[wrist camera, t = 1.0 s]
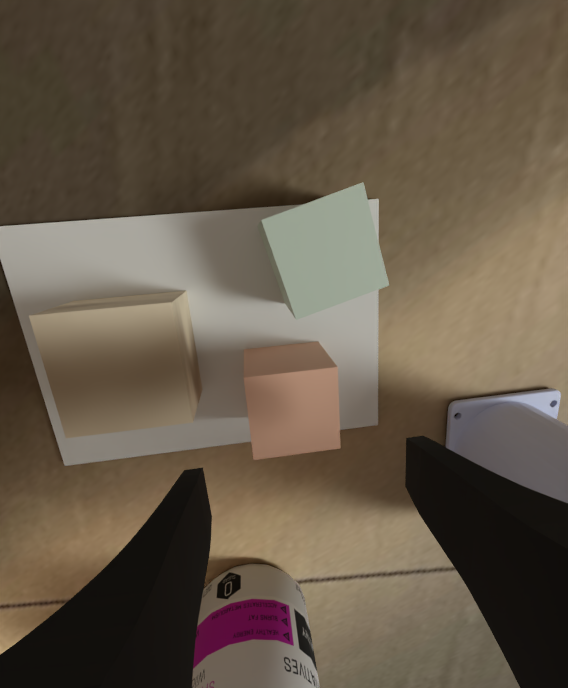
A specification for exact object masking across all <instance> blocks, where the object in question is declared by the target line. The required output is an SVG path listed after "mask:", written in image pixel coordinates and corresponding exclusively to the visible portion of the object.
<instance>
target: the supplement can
mask: <svg viewBox="0 0 568 688" xmlns="http://www.w3.org/2000/svg"><path fill="white" fill-rule="evenodd" d="M192 688H320V686H319V680H318V674H317V668H316V662H315V657H314V651H313V645H312V639H311V633H310V627H309V621H308V615H307V610H306V604H305V598H304V595H303V593H302V590H301V588H300V585H299V584H298V583H297V582H296V581H295V580H294V579H293V578H292V577H291V576H290V575H288V574H287V573H285V572H283V571H282V570H280V569H277V568H275V567H272V566H269V565H265V564H247V565H242V566H237V567H234V568H232V569H230V570H228V571H226V572H224V573H222V574H220V575H219V576H218V577H217V578H215V579H214V580H213V581H212V582H211V583H209V584H208V585H207V586H206V587H205V588H204V589H203V594H202V600H201V606H200V612H199V618H198V625H197V633H196V640H195V652H194V665H193V677H192Z"/></svg>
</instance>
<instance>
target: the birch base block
mask: <svg viewBox="0 0 568 688" xmlns="http://www.w3.org/2000/svg"><path fill="white" fill-rule="evenodd" d="M29 318H30V321H31V325H32V328H33V331H34V335H35V338H36V341H37V345H38V348H39V351H40V355H41V358H42V361H43V364H44V368H45V371H46V374H47V378H48V381H49V384H50V388H51V391H52V394H53V398H54V401H55V404H56V408H57V411H58V414H59V417H60V421H61V424H62V427H63V431H64V434H65V437H66V438H73V437H81V436H89V435H97V434H105V433H113V432H122V431H130V430H138V429H146V428H154V427H162V426H170V425H178V424H186V423H193V421H194V417H195V414H196V410H197V407H198V403H199V400H200V397H201V393H202V390H203V389H202V383H201V377H200V371H199V365H198V358H197V352H196V346H195V340H194V334H193V327H192V321H191V315H190V309H189V302H188V296H187V291H176V292H166V293H155V294H144V295H133V296H122V297H111V298H100V299H89V300H78V301H72V302H69V303H66V304H63V305H60V306H57V307H54V308H51V309H48V310H45V311H42V312H39V313H35V314H32V315H29Z"/></svg>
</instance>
